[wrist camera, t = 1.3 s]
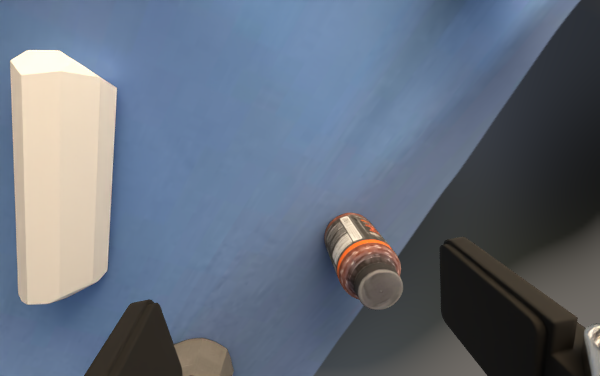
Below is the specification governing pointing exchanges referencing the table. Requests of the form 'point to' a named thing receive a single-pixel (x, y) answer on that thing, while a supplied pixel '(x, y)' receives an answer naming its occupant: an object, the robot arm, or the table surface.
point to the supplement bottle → (363, 261)
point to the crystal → (60, 174)
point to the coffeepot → (203, 358)
